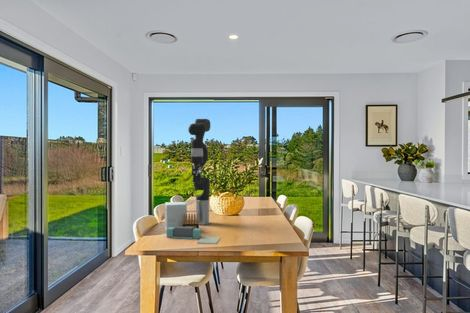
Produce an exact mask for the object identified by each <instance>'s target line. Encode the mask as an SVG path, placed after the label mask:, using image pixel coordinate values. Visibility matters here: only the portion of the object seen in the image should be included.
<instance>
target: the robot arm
mask: <svg viewBox="0 0 470 313" xmlns="http://www.w3.org/2000/svg"><path fill="white" fill-rule="evenodd" d="M187 130H188V133H189V134H190V136H194V138H193V139H191V146H190V149H191V150H190V163H191V164H192V165H191V176H192V182H193V187H194V190H196V191H203V192H202V193H200V194H198V195H196V197H195V198H196V199H195V205H196V206H195V215H196V218H197V213H198V219H199V226H200V225H201V226H203V225H210V191H211V181H210V178H209V177H206V176H205V177H201V175H202V174H203V169H204V167H205V165H206V164H207V161H208V160H209V159H208V158H209V156H208V155H209V150H208V147H207V146H206V144H205V143H204V137H205V134H206V132H209V131H210V130H211V121H210V120H209V119H208V118H196V119H195V121H194V123H191V124H189V126H188V129H187Z"/></svg>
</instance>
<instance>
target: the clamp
mask: <svg viewBox="0 0 470 313" xmlns="http://www.w3.org/2000/svg"><path fill="white" fill-rule="evenodd" d="M174 228H175V227H169V228H168V229H167V232H166V238H172V239H179V240H180V239H182V240H183V239H184V240H192V239H194V240H195V239H196V240H198V239H199V240H200V239H201V238H202V228H200V227H199V228H195V229H193V238H192V237H176V236H174Z"/></svg>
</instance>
